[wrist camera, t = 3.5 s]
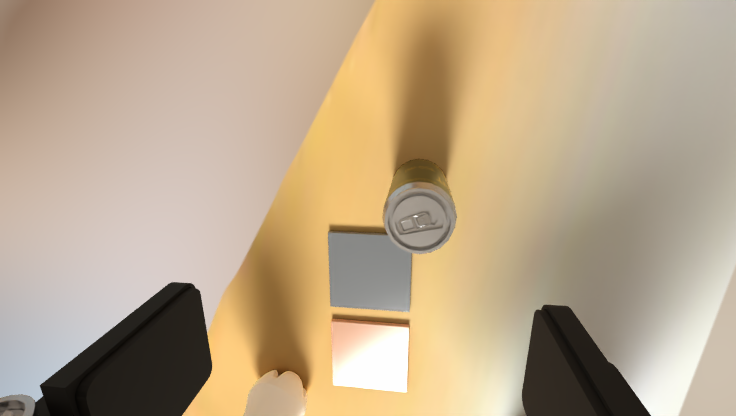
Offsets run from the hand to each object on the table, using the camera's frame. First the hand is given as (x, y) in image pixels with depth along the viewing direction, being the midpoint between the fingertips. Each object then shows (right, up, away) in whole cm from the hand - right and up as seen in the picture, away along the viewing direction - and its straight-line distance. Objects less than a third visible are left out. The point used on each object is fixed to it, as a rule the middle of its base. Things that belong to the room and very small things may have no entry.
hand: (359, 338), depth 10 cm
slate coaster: (0, -3, +31) cm, 31 cm away
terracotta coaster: (0, -14, +34) cm, 37 cm away
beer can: (+5, +6, +27) cm, 29 cm away
